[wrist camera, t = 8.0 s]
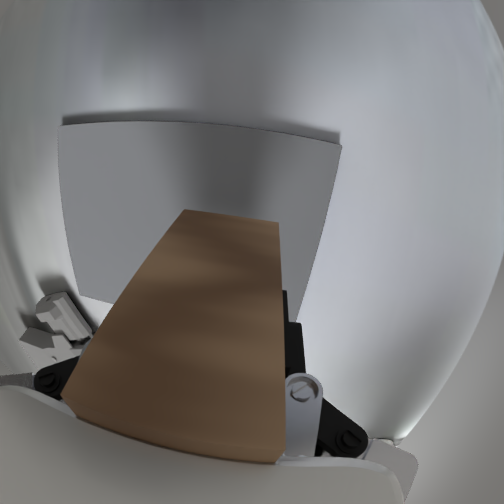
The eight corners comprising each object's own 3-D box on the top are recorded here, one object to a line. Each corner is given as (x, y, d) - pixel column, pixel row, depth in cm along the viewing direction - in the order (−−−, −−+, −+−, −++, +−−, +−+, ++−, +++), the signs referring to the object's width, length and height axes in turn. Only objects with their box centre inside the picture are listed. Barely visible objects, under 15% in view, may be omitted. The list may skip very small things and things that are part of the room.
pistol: (-3, 318, 22) (56, 305, 18) (9, 304, 24) (74, 284, 21) (85, 415, 30) (166, 426, 27) (91, 400, 33) (172, 406, 30)
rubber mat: (339, 144, 14) (342, 145, 13) (290, 330, 21) (290, 336, 20) (63, 125, 14) (57, 126, 13) (83, 291, 21) (79, 295, 20)
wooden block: (278, 222, 11) (285, 449, 3) (254, 339, 15) (240, 499, 7) (184, 208, 11) (60, 394, 3) (184, 327, 15) (137, 478, 7)
